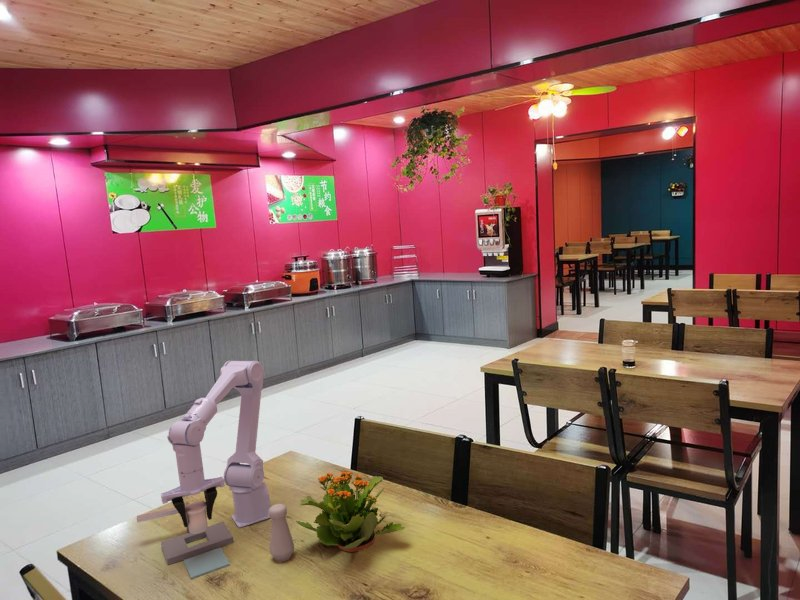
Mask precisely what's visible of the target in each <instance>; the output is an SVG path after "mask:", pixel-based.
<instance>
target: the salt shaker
mask: <svg viewBox="0 0 800 600" xmlns="http://www.w3.org/2000/svg"><path fill="white" fill-rule="evenodd" d="M287 514H288V509H287V505H285V504H284V503H274V504H273V505H271V507H270V508H269V517H270V518H269V519H271V524H270V525H271V526H270V539H269V553H270V555H271V556H272V558H274V560H275V562H278V563H279V562H281V563H283V562H285V561H286V562H287V561H289V560H291V557H292V554H293V552H294V549H295V545H294V544H295V543H294V541H293V537H292V534H291V530H290V528H289V524H288V521H287V516H286V515H287Z"/></svg>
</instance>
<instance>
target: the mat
mask: <svg viewBox="0 0 800 600" xmlns="http://www.w3.org/2000/svg"><path fill="white" fill-rule="evenodd" d="M183 563H184V565H185V568H186V571H187V573H188V575H189V578H190V580H193V579H196V578H199V577H201V576H204V575H208V574H210V573H212V572H214V571H218V570H221V569H224V568H226V567H228V566H231V563H230V562H229V560H228V558H227V556H226V554H225V553H224V551H223V549H222V547H219V548H216V549H213V550H210V551H207V552H204V553H202V554H199V555H196V556H193V557H190V558H187V559H184V560H183Z"/></svg>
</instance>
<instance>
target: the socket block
mask: <svg viewBox="0 0 800 600" xmlns="http://www.w3.org/2000/svg"><path fill="white" fill-rule="evenodd" d="M204 538H206V540H207V541H203V542H201V543H197V544H195V545H194V544H193V545H191V546H188V545H187V544H188V543H193V542H195V541H198V540H201V539H204ZM233 543H234V536H233V534H232V533H231V532H230V530H229V528H228V527H227V525H226V523H225V522H224V521H222V522H218V523H215V524H212V525H208V528H207V530H206V531H204V532H202V533H199V534H191V533H184V534H181V535H178V536H175V537H172V538H168V539H165V540H163V541H160V546H161V549H162V552H163V556H164V558H165V561H166V564H167V565H168V566H169V565H173V564H175V563H177V562H182V561H184V560H186V559H189V558H191V557H194V556H197V555H200V554H203V553H206V552H209V551H212V550H214V549H217V548H220V547H221V548H222V547H224V546H227V545H229V544H233Z"/></svg>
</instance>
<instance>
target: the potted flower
mask: <svg viewBox="0 0 800 600" xmlns="http://www.w3.org/2000/svg"><path fill="white" fill-rule="evenodd" d="M352 475H353V472H352V471H341V472H340V476H337V475H336V476H335V477H334V474H332V473H330V472H326V475H322V476H321V477H320V476H319V477H317V480H318V482H319V484H320V485H322V486H320V488H321V489H322V490H323V491H325V494H324V495H323V497H322V501H319V502H318V501H316V500H315V499H314V498H313V497H312V496H311V495H307V496H306V497H305V498H304V499H301V500H300V503H299V506H312V507H315V508H319V509H320V510H321V512H320V513H319V514H318V515H316V516H315V519H314V521H313V523H314V524H317V527H316V528H315V527H313V525H312V524H310V523H309V522H307V521H306V522H304V521H300V520H296V521H295V522H296V523H297V524H298V525H300V526H301V527H303V528H305V529H307V530H309V531H310V530H311V531H313V532H315V533H316V536H317V538H318V541H320V543H322V544H323V545H326V546H337V548H338V549H340V550H342V551H343V552H349V553H355V552H356V553H357V552H359V551H360V552H361V551H364V550H365V549H368V548H369V547H371V546H373V544H374V542H375V538H376V536H381V535H386V534H390V533H394V532H398V531H403V530H404V529H405V528H406V527H405V526H402V524H401V523H394V522H390V523H388V524H386V525H385V526H383V528H382V529H377V530H376V531H375V529H376V528H377V526H378V525H379V524H380V523H382V522H383V521H384V520H385V518H386V515H383V516H382V517H381V518H378V517H377V516H378V514H379V513H378V510H379V508H378V507H372V506H373V504H374V505H377V502H378V500H377V499H378V497H379V496H380V495H381V493H382V492H383V491H384V489H385V487H383V488H382V489H381V490H379V491H378V493H377V494H376V495H375V496H374V495H372V494H371V493H372V491H373V489H374V488H375V487H377V485H378V484H381V482H383V481H384V478H383V476H378V475H375V476H374V477H373V478H370V480H369V482H368V480H363V477H362V475H361V474H356V475H355V477H354V480H353V476H352ZM328 483H329V484H328ZM349 484H353V486H354V488H355V490H354V489H353V488H351V487H350V485H349ZM354 492H355V493H354Z"/></svg>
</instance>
